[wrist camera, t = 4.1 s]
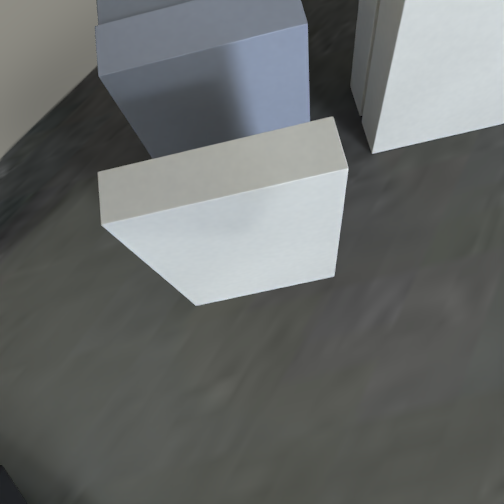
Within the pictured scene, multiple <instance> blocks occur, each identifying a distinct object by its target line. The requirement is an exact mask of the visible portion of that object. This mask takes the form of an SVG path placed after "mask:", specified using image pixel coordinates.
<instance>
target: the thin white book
mask: <svg viewBox="0 0 504 504" xmlns="http://www.w3.org/2000/svg"><path fill="white" fill-rule="evenodd" d="M347 176H348V165H347V161H346V158H345V155H344V151H343V148H342V144H341V141H340V138H339V134H338V131H337V128H336V124H335V121H334V117H328V118H323V119H319V120H315V121H311V122H306V123H302V124H298V125H294V126H290V127H285V128H281V129H277V130H273V131H269V132H264V133H260V134H256V135H252V136H247V137H243V138H239V139H235V140H231V141H226V142H222V143H218V144H214V145H209V146H205V147H201V148H197V149H193V150H188V151H184V152H180V153H176V154H172V155H167V156H163V157H159V158H155V159H150V160H146V161H142V162H138V163H134V164H129V165H125V166H121V167H117V168H112V169H108V170H104V171H100V172H98V185H99V200H100V215H101V225H102V226H103V227H104V228H105V229H106V230H108V231H109V232H110V233H111V234H112V235H113V236H115V237H116V238H117V239H118V240H119V241H120V242H122V243H123V244H124V245H125V246H126V247H128V248H129V249H130V250H131V251H132V252H133V253H135V254H136V255H137V256H138V257H139V258H140V259H142V260H143V261H144V262H145V263H146V264H148V265H149V266H150V267H151V268H152V269H153V270H155V271H156V272H157V273H158V274H159V275H160V276H162V277H163V278H164V279H165V280H166V281H168V282H169V283H170V284H171V285H172V286H173V287H175V288H176V289H177V290H178V291H179V292H181V293H182V294H183V295H184V296H185V297H186V298H188V299H189V300H190V301H191V302H192V303H193V304H195V305H196V306H198V305H202V304H207V303H212V302H216V301H221V300H226V299H231V298H235V297H240V296H245V295H249V294H254V293H259V292H263V291H268V290H273V289H278V288H282V287H287V286H292V285H296V284H301V283H306V282H310V281H315V280H320V279H325V278H329V277H334V275H335V267H336V259H337V252H338V244H339V237H340V229H341V221H342V214H343V206H344V199H345V191H346V183H347Z"/></svg>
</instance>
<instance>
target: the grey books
mask: <svg viewBox="0 0 504 504" xmlns="http://www.w3.org/2000/svg"><path fill="white" fill-rule="evenodd" d="M97 13H98V26H95V37H96V51H97V64H98V76H99V78H100V79H101V81H102V83H103V84H104V86H105V87H106V89H107V90H108V92H109V93H110V95H111V96H112V98H113V99H114V101H115V102H116V104H117V105H118V107H119V108H120V110H121V111H122V113H123V114H124V116H125V117H126V119H127V121H128V122H129V124H130V125H131V127H132V128H133V130H134V131H135V133H136V134H137V136H138V137H139V139H140V140H141V142H142V143H143V145H144V146H145V148H146V149H147V151H148V152H149V154H150V155H151V157H152V159H155V158H159V157H163V156H167V155H172V154H176V153H180V152H184V151H188V150H193V149H197V148H201V147H205V146H209V145H214V144H218V143H222V142H226V141H231V140H235V139H239V138H243V137H247V136H252V135H256V134H260V133H264V132H269V131H273V130H277V129H281V128H285V127H290V126H294V125H298V124H302V123H306V122H310V98H309V55H308V23H307V19H306V16H305V13H304V9H303V6H302V3H301V0H97Z"/></svg>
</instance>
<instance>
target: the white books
mask: <svg viewBox="0 0 504 504" xmlns="http://www.w3.org/2000/svg"><path fill="white" fill-rule="evenodd" d="M350 88H351V91H352V94H353V97H354V100H355V103H356V106H357V109H358V112H359V115H360V116H362V125H363V128H364V131H365V134H366V137H367V141H368V144H369V147H370V150H371V153H372V154H374V153H378V152H382V151H387V150H391V149H396V148H400V147H404V146H409V145H413V144H417V143H422V142H426V141H430V140H435V139H439V138H443V137H448V136H452V135H456V134H461V133H465V132H469V131H474V130H478V129H482V128H487V127H491V126H495V125H500V124H504V0H359V6H358V16H357V26H356V35H355V45H354V55H353V64H352V74H351V84H350Z"/></svg>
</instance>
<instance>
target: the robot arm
mask: <svg viewBox="0 0 504 504" xmlns="http://www.w3.org/2000/svg"><path fill="white" fill-rule="evenodd" d="M0 504H27V502H26V501H25V499H24V498H23V496H22V495H21V493H20V492H19V490H18V489H17V487H16V485H15V484H14V482H13V481H12V479H11V478H10V476H9V475H8V473H7V472H6V470H5V469H4V467H3V466H2V465H0Z"/></svg>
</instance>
